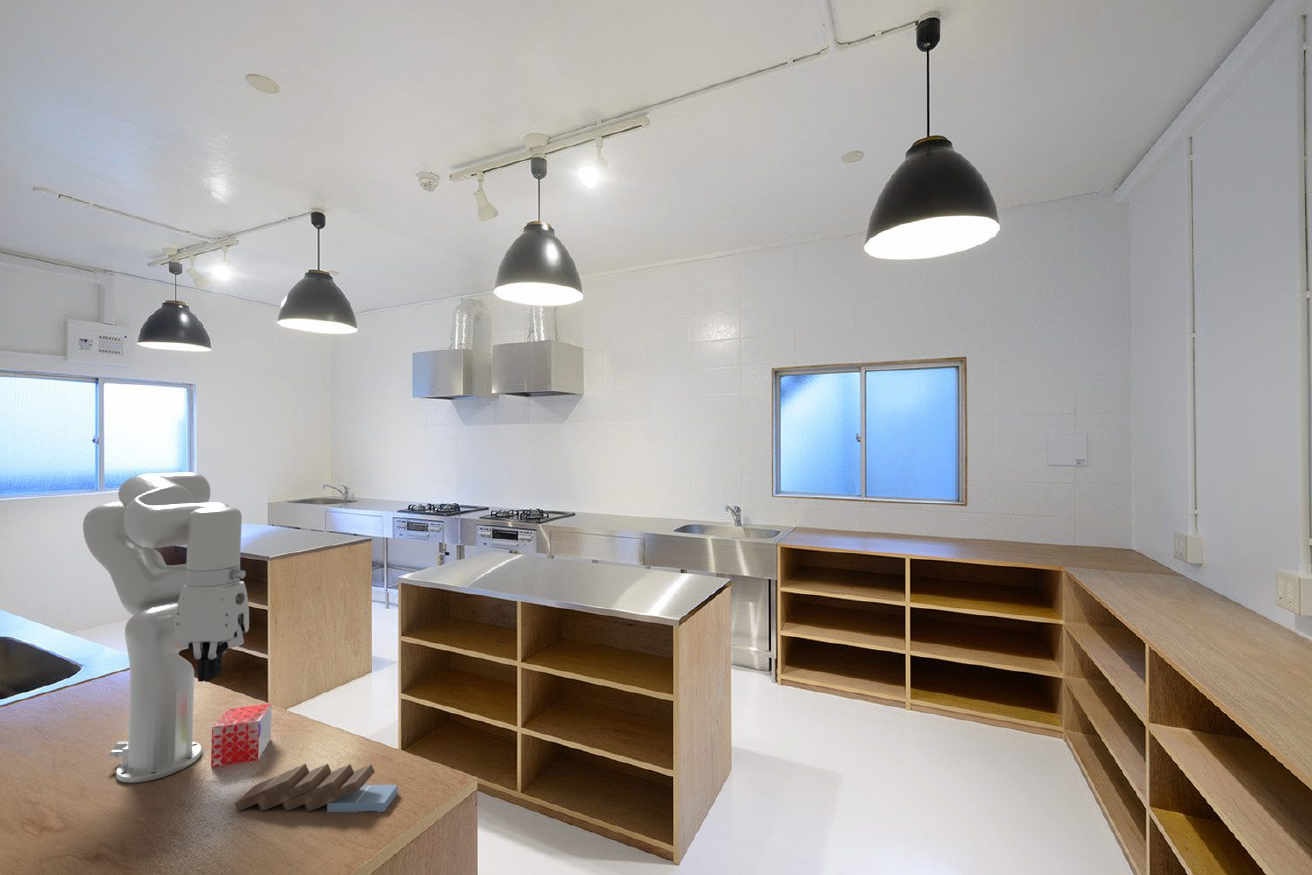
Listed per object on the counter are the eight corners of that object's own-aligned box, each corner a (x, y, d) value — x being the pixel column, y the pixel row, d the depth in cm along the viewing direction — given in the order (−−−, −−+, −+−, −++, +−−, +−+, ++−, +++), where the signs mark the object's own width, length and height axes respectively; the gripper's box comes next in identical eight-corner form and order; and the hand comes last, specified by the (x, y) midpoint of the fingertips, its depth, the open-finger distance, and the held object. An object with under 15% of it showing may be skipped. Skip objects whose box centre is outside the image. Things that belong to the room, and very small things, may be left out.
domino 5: (327, 802, 95) (384, 802, 95) (343, 784, 100) (397, 784, 100) (327, 812, 95) (384, 811, 95) (343, 793, 100) (397, 793, 100)
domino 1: (234, 802, 95) (287, 779, 95) (255, 784, 100) (305, 762, 100) (238, 811, 95) (291, 788, 95) (258, 793, 100) (309, 771, 100)
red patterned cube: (226, 746, 115) (227, 708, 115) (270, 739, 117) (271, 703, 118) (210, 767, 107) (211, 727, 107) (258, 760, 110) (259, 720, 110)
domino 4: (304, 803, 95) (355, 781, 94) (322, 784, 100) (371, 763, 99) (308, 812, 95) (359, 789, 94) (326, 793, 100) (374, 772, 99)
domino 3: (282, 802, 95) (332, 781, 94) (302, 784, 100) (350, 763, 99) (286, 811, 95) (336, 790, 94) (306, 792, 100) (354, 771, 99)
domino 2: (257, 802, 95) (310, 779, 95) (277, 784, 100) (327, 763, 100) (261, 811, 95) (314, 788, 95) (281, 793, 100) (331, 771, 100)
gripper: (270, 572, 101) (266, 670, 101) (187, 570, 101) (183, 668, 101) (241, 582, 94) (237, 688, 94) (151, 581, 93) (147, 687, 93)
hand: (209, 678), depth 97 cm, fingers closed
